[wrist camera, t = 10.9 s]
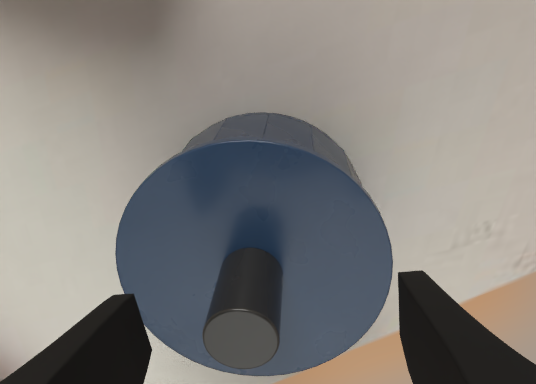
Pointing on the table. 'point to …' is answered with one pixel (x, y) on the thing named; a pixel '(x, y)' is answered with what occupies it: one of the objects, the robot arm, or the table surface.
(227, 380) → the table surface
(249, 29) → the table surface
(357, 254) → the cover
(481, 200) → the table surface
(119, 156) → the table surface
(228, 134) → the tin
